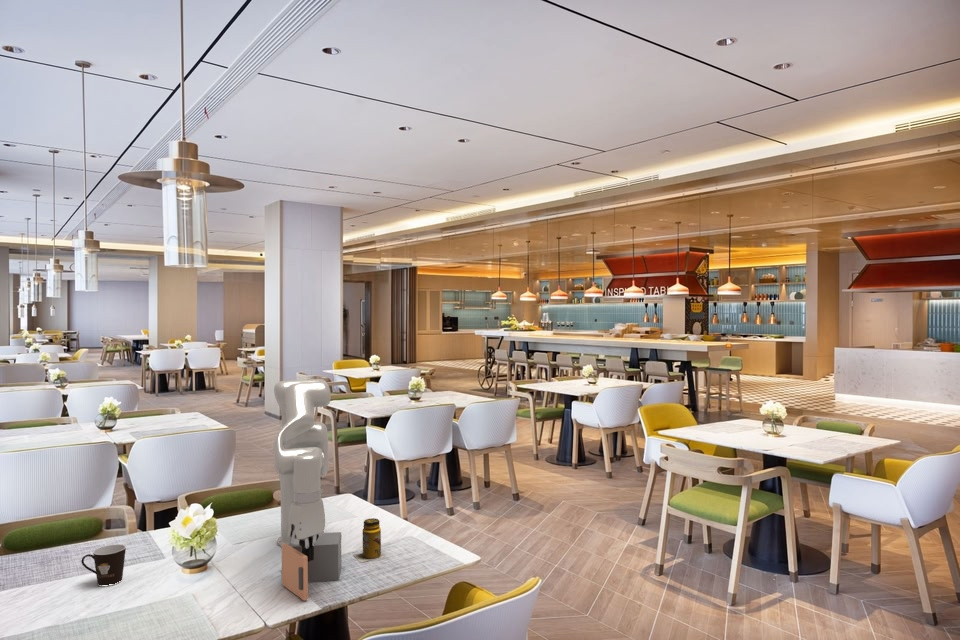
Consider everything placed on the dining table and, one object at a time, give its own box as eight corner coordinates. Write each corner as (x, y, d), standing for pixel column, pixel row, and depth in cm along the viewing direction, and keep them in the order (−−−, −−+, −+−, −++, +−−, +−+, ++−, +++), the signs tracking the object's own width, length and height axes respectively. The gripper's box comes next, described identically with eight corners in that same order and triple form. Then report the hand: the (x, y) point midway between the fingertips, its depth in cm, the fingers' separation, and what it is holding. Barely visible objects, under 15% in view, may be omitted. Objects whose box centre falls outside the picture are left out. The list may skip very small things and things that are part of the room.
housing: (293, 569, 197) (293, 532, 197) (341, 566, 199) (341, 529, 199) (287, 583, 186) (287, 544, 186) (338, 580, 188) (337, 541, 188)
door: (284, 582, 186) (284, 542, 186) (308, 599, 174) (307, 556, 174) (278, 584, 184) (277, 544, 184) (301, 601, 173) (300, 558, 173)
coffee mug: (132, 578, 191) (132, 546, 191) (108, 589, 183) (107, 556, 183) (104, 573, 195) (104, 542, 195) (79, 584, 187) (78, 551, 187)
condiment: (385, 557, 206) (385, 521, 206) (361, 563, 201) (361, 526, 202) (376, 550, 212) (376, 515, 212) (353, 556, 208) (352, 520, 208)
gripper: (319, 488, 187) (320, 548, 187) (277, 500, 175) (277, 565, 175) (336, 492, 182) (336, 554, 182) (293, 505, 170) (294, 571, 170)
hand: (308, 559), depth 179 cm, fingers closed
